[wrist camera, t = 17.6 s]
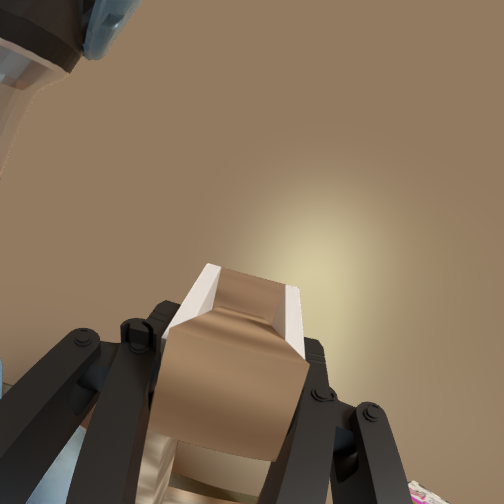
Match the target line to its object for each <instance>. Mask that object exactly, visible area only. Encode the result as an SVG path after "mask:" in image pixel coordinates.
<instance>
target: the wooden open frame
mask: <svg viewBox="0 0 504 504" xmlns="http://www.w3.org/2000/svg"><path fill="white" fill-rule="evenodd" d="M155 389H156V387H155ZM337 398H338V397H337ZM338 400H340V399H339V398H338ZM340 401H341V400H340ZM341 402H342V401H341ZM177 444H178V440H176V439H173V438H170V437H167V436H164V435H161V434H159V433H156V432H153V431H150V430H148V429H147V434H146V440H145V445H144V450H143V456H142V462H141V468H140V474H139V480H138V486H137V493H136V500H135V504H244V503H237V502H232V501H226V500H221V499H216V498H211V497H207V496H203V495H199V494H195V493H191V492H187V491H183V490H180V489H177V488H173V487H170V486H168V483H169V479H170V474H171V470H172V465H173V460H174V457H175V452H176V448H177ZM329 479H330V478H329ZM263 486H264V485H263ZM262 489H263V488H262ZM261 492H262V490H261ZM261 492H260V494H261ZM259 497H260V495H259ZM259 497H258V499H257V501H256V503H255V504H257V503H258V500H259Z"/></svg>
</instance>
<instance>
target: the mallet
mask: <svg viewBox="0 0 504 504" xmlns="http://www.w3.org/2000/svg"><path fill="white" fill-rule="evenodd" d="M284 287H285V284H282V283H278V282H274V281H271V280H267V279H263V278H259V277H256V276H251V275H248V274H245V273H241V272H237V271H233V270H230V269H226V268H223V267H221V270H220V275H219V279H218V284H217V289H216V293H215V298H214V302H213V307H212V310H210V311H208V312H206V313H204V314H201V315H199V316H197V317H194V318H192V319H189V320H187V321H185V322H182V323H180V324H178V325H175V326H173V327H170V329H169V333H168V337H167V341H166V345H165V349H164V353H163V357H162V362H161V366H160V371H159V375H158V380H157V384H156V389H155V394H154V398H153V403H152V408H151V414H150V419H149V424H148V430H150V431H153V432H156V433H159V434H161V435H164V436H167V437H170V438H173V439H176V440H179V441H183V442H186V443H189V444H193V445H196V446H200V447H203V448H207V449H211V450H215V451H220V452H223V453H228V454H232V455H237V456H242V457H247V458H252V459H258V460H264V461H271V462H276V460H277V457H278V455H279V452H280V450H281V447H282V444H283V442H284V439H285V437H286V434H287V431H288V429H289V426H290V423H291V420H292V418H293V415H294V412H295V409H296V406H297V403H298V400H299V397H300V394H301V391H302V388H303V385H304V382H305V379H306V376H307V373H308V369H309V366H310V364H309V363H308V362H307V361H306V360H305V359H304V358H303V357H302V356H301V355H300V354H299V353H298V352H297V351H296V350H295V349H294V348H293V347H292V346H291V345H290V344H289V343H288V342H287V341H285V340H284V339H283V338H282V337H281V335H280V334H279V333H278V332H277V331H276V330H275V329H274V328H273V327H272V326H271V325H272V322H273V319H274V316H275V313H276V310H277V308H278V305H279V302H280V299H281V296H282V293H283V290H284Z"/></svg>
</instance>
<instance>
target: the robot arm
mask: <svg viewBox="0 0 504 504" xmlns="http://www.w3.org/2000/svg"><path fill="white" fill-rule="evenodd" d="M141 2H142V0H0V179H1V176H2V173H3V170H4V167H5V164H6V161H7V158H8V156H9V153H10V151H11V148H12V145H13V143H14V140H15V138H16V136H17V133H18V131H19V129H20V127H21V124H22V122H23V120H24V118H25V116H26V114H27V111H28V110H29V108H30V106H31V103H32V102H33V100H34V98H35V96H36V94H37V93H38V92H39V91H41V90H42V89H43V88H45V87H47V86H50V85H52V84H54V83H57V82H59V81H61V80H64V79H66V78H67V77H68V76H69V74H70V72H71V71H72V69H73V68H74V67H75V65H76V64H77V62H78V61H79V59H80V58H81V57H82V56H84V57H85V58H86V59H88V60H100V59H101V58H103V57H104V56H105V54H106V53H107V52H108V50H109V48H110V46H111V45H112V43H113V42H114V40H115V39H116V38H117V36H118V35H119V33H120V32H121V31H122V29H123V28H124V26H125V25H126V23H127V22H128V20H129V19H130V17H131V16H132V15H133V13H134V12H135V10H136V9H137V8H138V6H139V5H140V3H141ZM220 270H221V267H219V266H216V265H212V264H207V265H206V266H205V268H204V270H203V271H202V273H201V275H200V276H199V277H198V279H197V281H196V282H195V284H194V285H193V287H192V289H191V290H190V292H189V293H188V295H187V297H186V298H185V300H184V301H183V303H182V305H180V304H177V303H173V302H170V301H167V300H165V301H163V302H162V303H159V304H158V305H157V306H156V307H155V309H154V310H153V312H152V313H151V314H150V315H149V317H148V318H147V319H146V320H145V319H140V318H133V319H128V320H126V321H124V322H123V323H122V324H121V326H120V328H121V343H111V342H104V341H100V337H99V335H98V333H96V332H95V331H93V330H91V329H88V328H78V329H75V330H73V331H71V332H70V333H69V334H68V335H66V336H65V337H64V338H63V339H62V340H61V341H60V342H59V343H58V344H57V345H55V346H54V347H53V348H52V349H51V350H50V351H49V352H48V353H47V354H46V355H45V356H44V357H43V358H41V360H39V361H38V362H37V363H36V364H35V365H34V366H33V367H32V368H31V369H30V370H29V371H28V372H27V373H26V374H25V375H24V376H23V377H22V378H21V379H20V380H19V381H18V382H17V383H16V384H15V385H14V386H13V387H12V388H11V389H10V390H9V391H8V392H7V393H6V394H5V395H4V396H3V397H2V379H3V377H2V376H3V364H2V360H1V358H0V504H25V503H26V501H27V500H28V498H29V497H30V495H31V494H32V492H33V491H34V489H35V488H36V486H37V485H38V483H39V482H40V480H41V479H42V477H43V476H44V474H45V473H46V472H47V470H48V469H49V467H50V466H51V464H52V463H53V461H54V460H55V459H56V457H57V456H58V454H59V453H60V452H61V450H62V449H63V447H64V446H65V445H66V443H67V442H68V440H69V439H70V438H71V436H72V435H73V434H74V432H75V431H76V429H77V428H78V427H79V425H80V424H81V423H82V421H83V420H84V419H85V417H86V416H87V414H88V413H89V412H90V410H91V409H92V408H93V406H94V405H95V404H96V402H97V404H96V406H95V409H94V412H93V414H92V418H91V420H90V423H89V426H88V429H87V432H86V435H85V438H84V441H83V444H82V447H81V450H80V453H79V456H78V460H77V463H76V466H75V470H74V473H73V477H72V481H71V484H70V488H69V492H68V496H67V500H66V504H135V500H136V493H137V486H138V480H139V474H140V468H141V462H142V456H143V450H144V445H145V440H146V434H147V429H148V424H149V419H150V414H151V408H152V403H153V398H154V394H155V387H156V384H157V380H158V375H159V371H160V366H161V362H162V357H163V353H164V349H165V345H166V341H167V337H168V333H169V329H170V327H173V326H175V325H178V324H180V323H182V322H185V321H187V320H189V319H192V318H194V317H197V316H199V315H201V314H204V313H206V312H208V311H210V310H212V307H213V302H214V298H215V293H216V289H217V284H218V279H219V275H220ZM271 326H272V327H273V328H274V329H275V330H276V331H277V332H278V333H279V334H280V335H281V337H282V338H283V339H284V340H285V341H287V342H288V343H289V344H290V345H291V346H292V347H293V348H294V349H295V350H296V351H297V352H298V353H299V354H300V355H301V356H302V357H303V358H304V359H305V360H306V361H307V362H308V363H309V364H310V366H309V369H308V373H307V376H306V379H305V382H304V385H303V388H302V391H301V394H300V397H299V400H298V403H297V406H296V409H295V412H294V415H293V418H292V420H291V423H290V426H289V429H288V431H287V434H286V437H285V439H284V442H283V444H282V447H281V450H280V452H279V455H278V457H277V460H276V462H271V465H270V468H269V470H268V474H267V477H266V480H265V483H264V486H263V489H262V492H261V494H260V497H259V500H258V503H257V504H325V502H326V496H327V491H328V484H329V478H330V482H331V491H332V499H333V504H413V501H412V497H411V494H410V490H409V486H408V483H407V479H406V476H405V472H404V469H403V466H402V463H401V459H400V456H399V453H398V449H397V446H396V443H395V440H394V437H393V434H392V431H391V428H390V425H389V422H388V419H387V417H386V414H385V412H384V410H383V409H382V408H381V407H380V406H379V405H377V404H375V403H371V402H362V403H361V404H359V405H358V406H357V407H353V406H351V405H348V404H346V403H343V402H341V401H340V400H338V398H337V394H336V393H335V391H334V390H333V389H332V388H331V387H329V383H328V375H327V368H326V364H325V362H326V361H325V357H324V356H325V355H324V349H323V347H322V345H321V344H320V342H319V341H318V340H316V339H311V338H306V337H303V325H302V313H301V302H300V292H299V288H298V287H294V286H290V285H286V284H285V287H284V290H283V293H282V296H281V299H280V302H279V305H278V308H277V310H276V313H275V316H274V319H273V322H272V325H271Z"/></svg>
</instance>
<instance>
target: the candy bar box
mask: <svg viewBox="0 0 504 504" xmlns="http://www.w3.org/2000/svg"><path fill="white" fill-rule="evenodd" d="M408 486H409V490H410V494H411V497H412V501H413V504H450V503H448V502H447V501H445V500H443V499H442V498H440V497H438V496H437V495H435V494H434V493H432V492H431V491H429V490H427V489H426V488H424V487H423V486H421V485H420V484H418V483H417V482H415V481H414V480H413V481H411V482H408Z"/></svg>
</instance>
